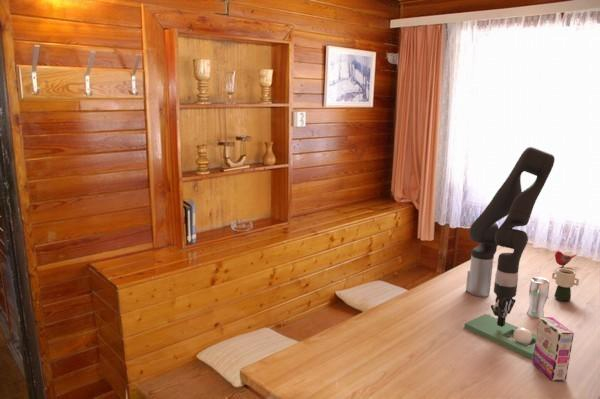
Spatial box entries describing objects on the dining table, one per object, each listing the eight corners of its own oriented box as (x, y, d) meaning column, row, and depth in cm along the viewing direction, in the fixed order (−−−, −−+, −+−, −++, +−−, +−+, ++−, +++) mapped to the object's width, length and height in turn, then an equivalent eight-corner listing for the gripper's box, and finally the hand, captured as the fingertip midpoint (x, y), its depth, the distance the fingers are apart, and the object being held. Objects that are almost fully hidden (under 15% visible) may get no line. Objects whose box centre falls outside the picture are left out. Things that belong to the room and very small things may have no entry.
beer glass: (547, 319, 186) (552, 284, 183) (528, 317, 188) (533, 282, 184) (542, 311, 193) (547, 277, 190) (524, 310, 194) (528, 276, 191)
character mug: (578, 301, 204) (583, 273, 201) (571, 305, 199) (576, 276, 196) (552, 292, 212) (556, 265, 209) (545, 296, 208) (549, 269, 205)
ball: (528, 348, 163) (511, 346, 167) (536, 343, 166) (520, 341, 171) (525, 331, 163) (508, 329, 168) (533, 326, 166) (517, 325, 171)
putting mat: (464, 328, 178) (464, 323, 178) (485, 318, 186) (485, 313, 186) (530, 359, 158) (531, 353, 158) (551, 346, 166) (552, 341, 166)
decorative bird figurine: (549, 269, 241) (552, 250, 239) (572, 264, 249) (575, 246, 246) (554, 271, 239) (557, 252, 236) (577, 266, 246) (580, 248, 244)
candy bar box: (567, 381, 146) (575, 333, 142) (552, 381, 146) (559, 333, 142) (546, 361, 157) (552, 316, 153) (531, 361, 157) (538, 316, 153)
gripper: (506, 274, 176) (501, 317, 180) (486, 282, 169) (481, 326, 172) (525, 281, 170) (519, 324, 174) (505, 289, 163) (500, 334, 166)
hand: (500, 325), depth 173 cm, fingers closed
